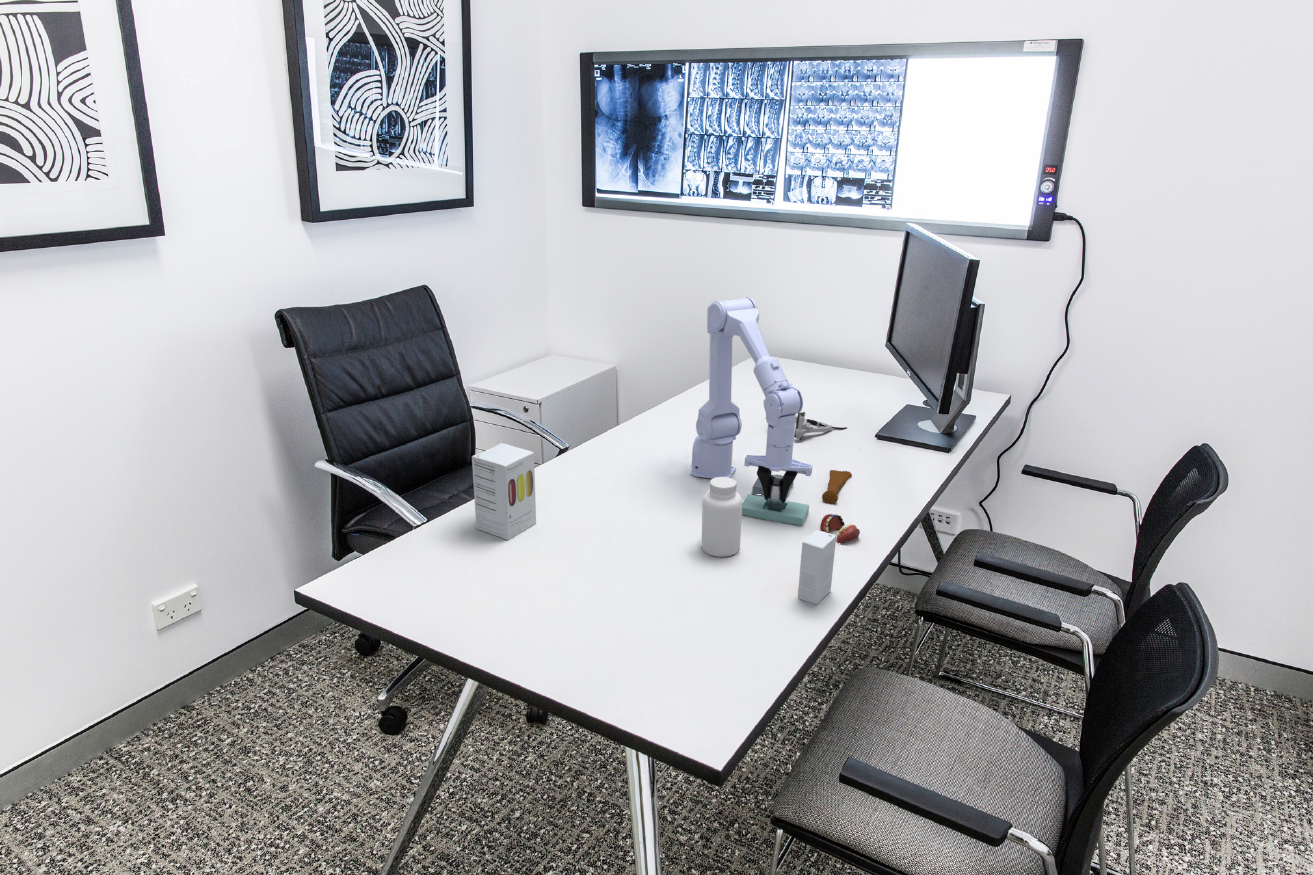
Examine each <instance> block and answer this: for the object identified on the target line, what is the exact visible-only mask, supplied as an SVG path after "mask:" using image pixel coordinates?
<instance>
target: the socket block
mask: <svg viewBox="0 0 1313 875" xmlns="http://www.w3.org/2000/svg"><path fill="white" fill-rule="evenodd" d="M792 486H793V487H794V482H793V483H792V484H791V486H790V488H789V491H788V494H789V495H790V493H791V491H790V490H792V489H793V487H792ZM791 488H792V489H791ZM789 492H790V493H789ZM752 493H753V494H752ZM751 494H752V495H755V494H761V495H764V492H763V488H762V485H761V482H760V480H759V478H758V477H757V478H756V480H755V481H754V483H753V485H752V492H751ZM788 494H787V496H789V495H788ZM761 495H760V496H761Z"/></svg>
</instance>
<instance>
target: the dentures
mask: <svg viewBox="0 0 1313 875" xmlns="http://www.w3.org/2000/svg"><path fill="white" fill-rule="evenodd" d="M843 520H844V519H843V518H842V515H839V514H832V513H828V514H825V515H824V516H823V518H822V519H821V521H820V526H819V530H820V531H823V532H826V533H829V534H830V532H833V531H835V530H838V531H837V532H836V534H835V536H836V543H837V544H839V543H840V544H839V545H842V544H843V543H847V542H849V541H852V540H854V539H856V538H858V537H859V536H860V534H861V530H860V529H859V528H857V526H856V525H855V524H854V523H853V522H852V523H851V522H850V523H847V524H845V521H843ZM846 541H847V542H846ZM841 543H842V544H841Z"/></svg>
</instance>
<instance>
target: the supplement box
mask: <svg viewBox="0 0 1313 875" xmlns="http://www.w3.org/2000/svg"><path fill="white" fill-rule="evenodd" d="M471 463H472V464H471V465H472V480H473V492H474V493H473V495H474V496H473V497H474V509H475V510H474V514H475V527H476V528H475V529H478V530H480V531H483V532H486V533H488V534H491V535H494V536H496V537H499V538H502V539H504V540H506V541H509V540H511V539H512V538H514V537H516V536H518V535H519V534H521V533H522V532H524V531H526V530H528V529H529V528H531V527H533V526H534V525H536V524H537V512H536V511H537V510H536V509H537V506H536V504H537V503H536V480H535V479H536V477H535V476H536V474H535V452H534V451H531V450H527V449H524V448H521V447H517V446H513V445H511V444H507V443H503V442H501V443H498V444H496V445H494V446H493V447H490V448H488V449H486V450H484V451H481V452H479V453H477V454H474V455H472V456H471Z"/></svg>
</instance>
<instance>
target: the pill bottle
mask: <svg viewBox="0 0 1313 875" xmlns="http://www.w3.org/2000/svg"><path fill="white" fill-rule="evenodd" d="M737 486H738V483H737V481H736V480H735V479H733V478H731V477H730V478H728V477H716V478H713V479H711V480H710V481H709V490H708V491H707V492H706V493H705V494H704V495H703V498H702V511H701V512H702V513H701V516H702V517H701V549H702V550H703V551H704V553H707V554H708V555H710V556H713V557H720V558H721V557H724V558H725V557H730V556H731V557H732V556H733V555H735V554H738V552H739V551H740V549H741V548H740V547H741V536H742V535H741V534H742V520H743V518H742V517H743V516H742V503H743V498H742V496H741V495H740V494H739V493H738V492H737Z"/></svg>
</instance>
